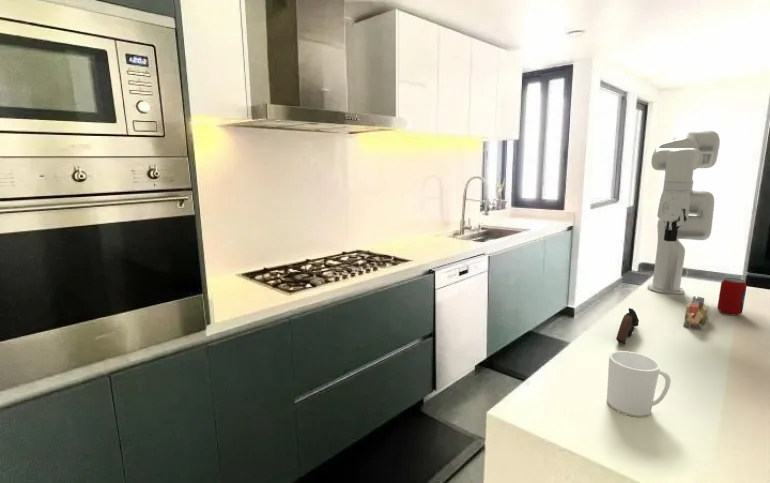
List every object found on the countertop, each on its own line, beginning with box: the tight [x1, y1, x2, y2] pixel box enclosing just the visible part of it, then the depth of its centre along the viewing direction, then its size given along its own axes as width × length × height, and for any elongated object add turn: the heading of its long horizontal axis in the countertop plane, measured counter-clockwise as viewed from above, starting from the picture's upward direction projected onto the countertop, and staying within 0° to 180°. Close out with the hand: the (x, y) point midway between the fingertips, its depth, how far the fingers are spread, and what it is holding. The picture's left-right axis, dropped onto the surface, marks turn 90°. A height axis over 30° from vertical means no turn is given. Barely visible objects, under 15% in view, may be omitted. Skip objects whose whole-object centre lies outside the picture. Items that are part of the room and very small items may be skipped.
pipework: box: [683, 302, 709, 331], centre depth 134 cm, size 22×5×5 cm, turn 138°
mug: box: [606, 350, 672, 418], centre depth 84 cm, size 11×9×10 cm
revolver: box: [616, 307, 640, 345], centre depth 121 cm, size 3×18×12 cm
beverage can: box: [716, 277, 747, 316], centre depth 141 cm, size 7×7×12 cm
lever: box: [689, 296, 705, 314], centre depth 130 cm, size 13×3×3 cm, turn 136°
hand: (669, 240), depth 139 cm, fingers closed
